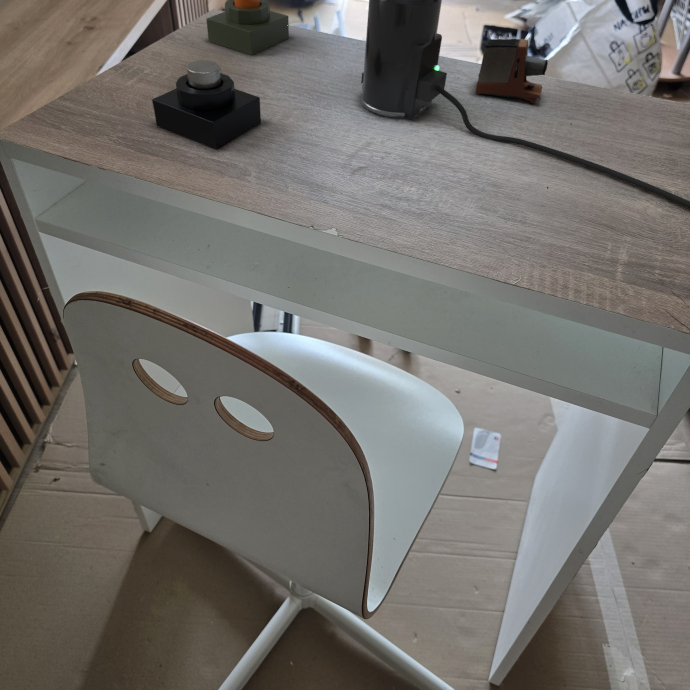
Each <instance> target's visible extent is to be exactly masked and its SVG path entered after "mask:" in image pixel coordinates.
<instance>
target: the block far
mask: <svg viewBox="0 0 690 690" xmlns="http://www.w3.org/2000/svg"><path fill="white" fill-rule="evenodd" d="M205 20H206V30H207V39H208V43H213V44H216V45H218V46H221V47H225V48H228V49H230V50H231V49H232V50H234V51H237V52H241V53H244V54H246V55H250V56H253V55H256V54H258V53H260V52H262V51H264V50H266V49H269V48H271V47H272V46H274V45H277V44H279V43H281V42H284V41H285V40H287V39H289V36H290V34H289V32H290V31H289V30H290V29H289V25H290V24H289V21H290V20H289V15H287V14H283V13H280V12H278V11H277V12H276V11H274V10H270V2H269V1H268V0H260V6H259V7H257V8H249V9H248V8H240V7H236V6H235V1H234V0H226V1H225V3H224V11H223V12H220V13H217V14H215V15H212V16H210V17H207V18H206V19H205ZM287 25H288V26H287Z"/></svg>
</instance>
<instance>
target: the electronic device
mask: <svg viewBox="0 0 690 690" xmlns="http://www.w3.org/2000/svg"><path fill="white" fill-rule="evenodd" d="M528 52H529V40H528V39H523V38H521V39H520V38H507V39H506V38H504V39H503V38H499V39H498V38H497V39H496V38H493V39H491V38H489V39H487V40H486V42H485V44H484V46H483V54H482V59H481V64H480V69H479V73H478V78H477V81H476V86H475V94H476V95H489V96H492V97H493V96H494V97H503V98H511V99H522V100H525V101H527V102H529V103H530V104H532V105H534V104H535V103H536V100H541V98H542V97H541V96H542V90H543V85H542V84H539V83H535V82H531V81H529V80H528V79H527V78H528V77H534V76H535V77H536V76H545V75H546V72H547V70H548V63H549V60H548V59H542V58H538V57H533V56H529V55H528Z"/></svg>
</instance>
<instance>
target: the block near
mask: <svg viewBox="0 0 690 690" xmlns="http://www.w3.org/2000/svg"><path fill="white" fill-rule="evenodd" d="M220 75H221V87H219V88H217V89H213V90H207V91H206V90H195V89H192V88H190V87H189V83H188V76H187V73H186V74H184V75H181V76H180V77H178V79H177V80H176V81H175V88H174V89H172V90H170V91H167V92H165V93H163V94H160V95H159V96H157V97H155V98H152V99H151V100H152V106H153V107H152V108H153V112H154V117H155V124H156V127H159V128H161V129H164V130H167V131H168V132H172V133H174V134H176V135H179V136H181V137H184V138H187V139H189V140H191V141H194V142H197V143H199V144H201V145H204V146H206V147H209V148H212V149H214V150H218V149H220V148H221V147H223V146H225V145H226V144H228V143H230V142H231V141H234V140H235V139H237V138H238V137H240V136H242V135H244V134H245V133H247V132H249V131H250V130H252V129H254V128H255V127H257V126H259V125H260V124H262V115H261V97H259V96H257V95H254V94H251V93H248V92H246V91H243V90H240V89H236V88H235V81H234V80H233V79H232V78H231V77H230V75H228V74H224V73H221V72H220Z"/></svg>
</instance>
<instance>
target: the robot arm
mask: <svg viewBox="0 0 690 690" xmlns="http://www.w3.org/2000/svg"><path fill="white" fill-rule="evenodd" d="M442 3H443V0H368V9H367V23H366V24H367V25H366V35H365V36H366V37H365V50H364V63H363V72H361V81H360V84H362V87H361V89H362V91H361V92H362V93H361V96H360V103H361V105H362V106H363V107H364V108H365V109H366V110H368V111H369V112H371V113H374V114H376V115H379V116H384V117H389V118H404V119H408V120H413V119H415V118H416V117H418V116H419V115H420V114H422V113H423V112H425V110H428V108H429V107H430V106H432V103H433V100H434V99H435V98H437V97H438V96H440V95H441V96H442V97H444V98H445V99H446V100H448V101H449V102H450V103H451V104H452V105H453V106H454V107H455V108H456V109H457V110H458V111H459V113H460V115H461V117H462V121H463V124H464V126H465V128H466V129H467V130H468V131H469V132H470V133H472V134H473V135H475V136H477V137H479V138H482V139H486V140H489V141H494V142H499V143H508V144H514V145H519V146H522V147H526V148H529V149H532V150H534V151H535V150H536V151H538V152H542V153H544V154H549V155H551V156H554V157H558V158H560V159H563V160H565V161H569V162H572V163H574V164H577V165H581V166H584V167H587V168H589V169H593V170H595V171H598V172H600V173H603V174H606V175H608V176H611V177H613V178H616V179H618V180H620V181H623V182H626V183H629V184H631V185H633V186H636V187H639V188H641V189H644V190H646V191H648V192H650V193H653V194H655V195H658V196H660V197H662V198H665V199H667V200H669V201H671V202H674V203H675V204H678V205H681V206H683V207H685V208H688V209H690V200H688V199H686V198H683V197H681V196H679V195H677V194H674V193H672V192H669V191H667V190H665V189H662V188H660V187H658V186H655V185H653V184H651V183H648V182H646V181H644V180H643V181H642V180H640V179H638V178H636V177H633V176H630V175H628V174H625V173H622V172H621V171H618V170H614V169H612V168H610V167H607V166H604V165H601V164H598V163H596V162H592V161H590V160H587V159H585V158H581V157H578V156H575V155H573V154H570V153H567V152H564V151H560V150H559V149H558V150H557V149H554V148H552V147H549V146H546V145H542V144H539V143H536V142H532V141H530V140H525V139H523V138H522V139H521V138H518V137H512V136H506V135H505V136H504V135H495V134H490V133H486V132H483V131H481V130H479V129H477V128H476V127H474V125H472V124H471V122H470V119H469V116H468V113H467V111H466V109H465V107H464V106H463V104H462V103H461V102H460V101H459V100H458V99H457V98H456V97H455V96H454V95H452V94H451V93H450V92H448V91H447V90H446V89H445V87H446V82H447V77H448V76H447V75H448V72H445V71H441V70H440V66H439V60H440V54H441V47H442V41H443V35H442V34H441V33H438V28H439V23H440V22H439V21H440V15H441V7H442Z"/></svg>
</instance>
